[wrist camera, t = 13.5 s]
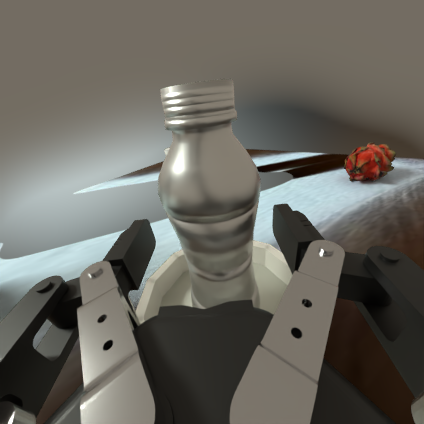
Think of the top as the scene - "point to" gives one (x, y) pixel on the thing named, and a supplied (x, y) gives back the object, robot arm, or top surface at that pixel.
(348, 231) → the top surface
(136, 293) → the top surface
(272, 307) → the bowl
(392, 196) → the top surface
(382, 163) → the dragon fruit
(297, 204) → the top surface
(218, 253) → the plastic bottle
